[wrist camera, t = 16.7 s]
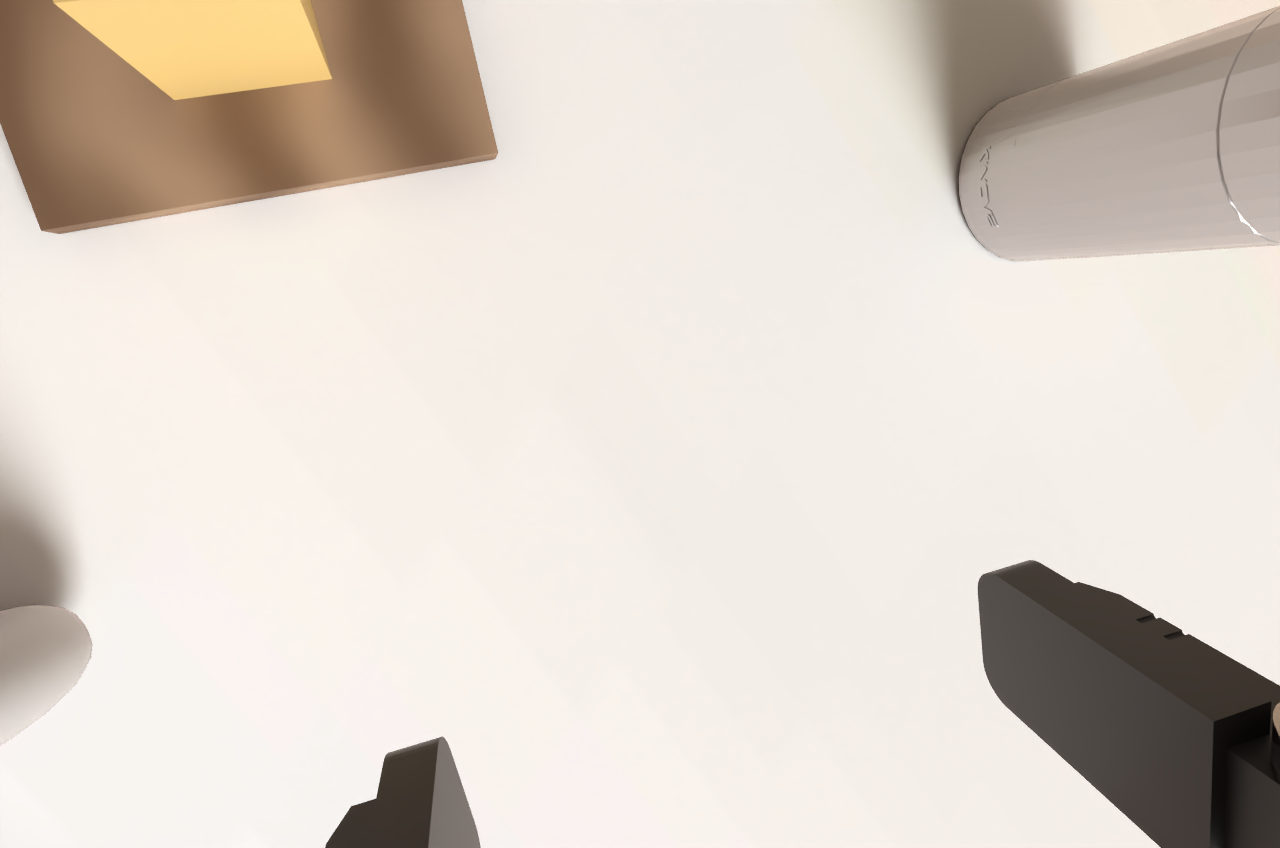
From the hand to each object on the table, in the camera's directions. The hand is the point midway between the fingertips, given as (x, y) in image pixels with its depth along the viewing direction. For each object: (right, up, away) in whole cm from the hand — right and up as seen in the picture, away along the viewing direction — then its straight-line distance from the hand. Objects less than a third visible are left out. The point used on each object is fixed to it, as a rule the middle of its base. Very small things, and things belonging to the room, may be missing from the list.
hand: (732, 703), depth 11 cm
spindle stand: (-18, +21, +20) cm, 34 cm away
